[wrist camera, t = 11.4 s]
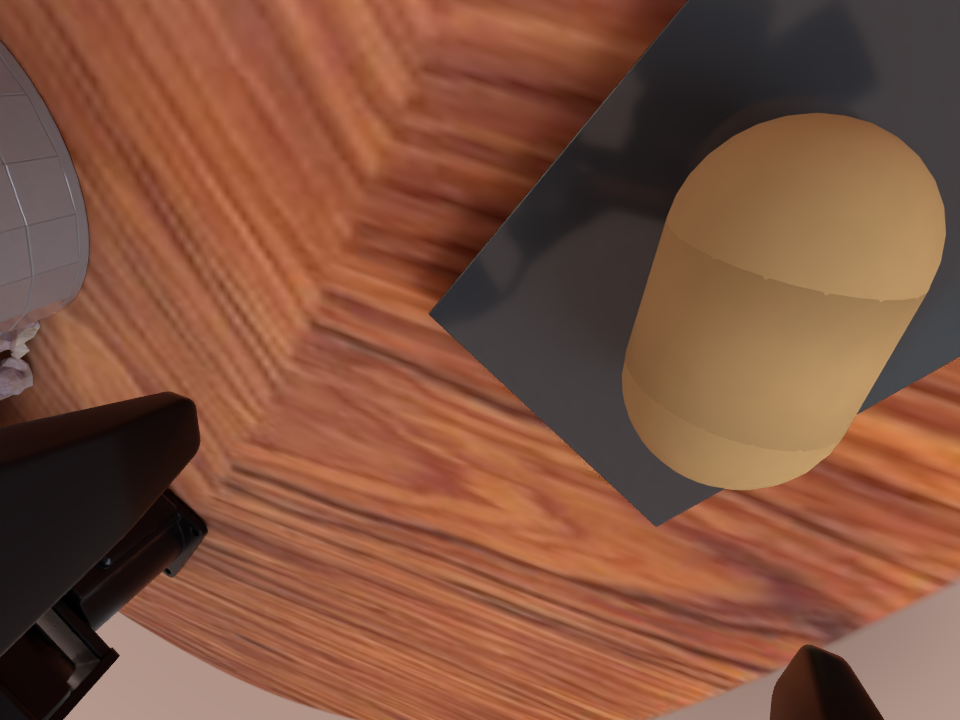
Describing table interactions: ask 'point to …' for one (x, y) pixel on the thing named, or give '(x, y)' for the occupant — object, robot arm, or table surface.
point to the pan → (36, 207)
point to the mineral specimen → (16, 361)
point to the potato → (779, 297)
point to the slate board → (657, 179)
